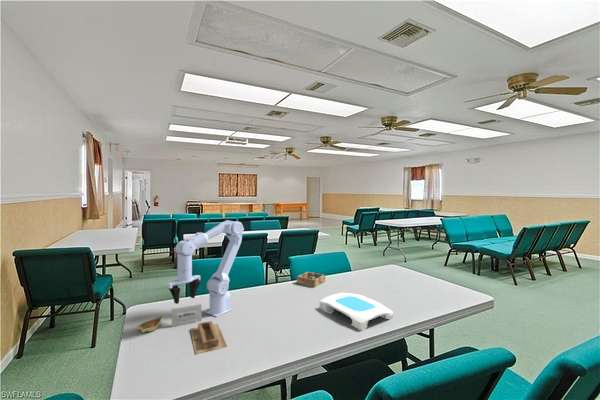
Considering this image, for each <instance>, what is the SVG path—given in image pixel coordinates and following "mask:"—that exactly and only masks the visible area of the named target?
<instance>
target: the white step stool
mask: <svg viewBox="0 0 600 400" xmlns="http://www.w3.org/2000/svg"><path fill="white" fill-rule="evenodd" d="M319 309H320V310H321V311H323V312H324V311H325V312H324V313H327V314H332V313H330V312H333V313H335V310H336V311H338V312H340V313H342V314H343V315H345V316H347V317H349V318H350V319H351V322H352V323H351V324H350V326H351V325H352V326H354V327H355V328H354V327H353V328H354V329H356V328H358V329H359V330H358V329H357V330H358V331H361V330H362V331H364V330H363V329H365V330H367V329H368V323H369V321H370V320H373V319H376V318H378V317H379V316H380V317H379V318H381V317H382V318H381V319H384V318H385V319H384V320H386V319H390V320H392V318H393V319H394V312H393V310H391V309H390V308H388V307H386V306H385V305H383V304H382V303H380V302H378V301H376V300H374V299H372V298H369V297H366V296H365V295H361V294H356V293H351V292H349V293H348V292H339V293H335V294H331V295H327V296H326V297H324V298H322V299H321V300H319ZM352 326H351V327H352ZM366 328H367V329H366Z"/></svg>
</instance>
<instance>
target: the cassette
mask: <svg viewBox="0 0 600 400" xmlns="http://www.w3.org/2000/svg"><path fill="white" fill-rule="evenodd" d="M186 314H187V315H186ZM199 322H200V323H201V322H202V304H201V303H199V304H197V303H196V304H191V305H185V306H178V307H173V308H171V327H172V328H174V327H180V326H185V325H190V324H196V323H197V324H198V323H199Z"/></svg>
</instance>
